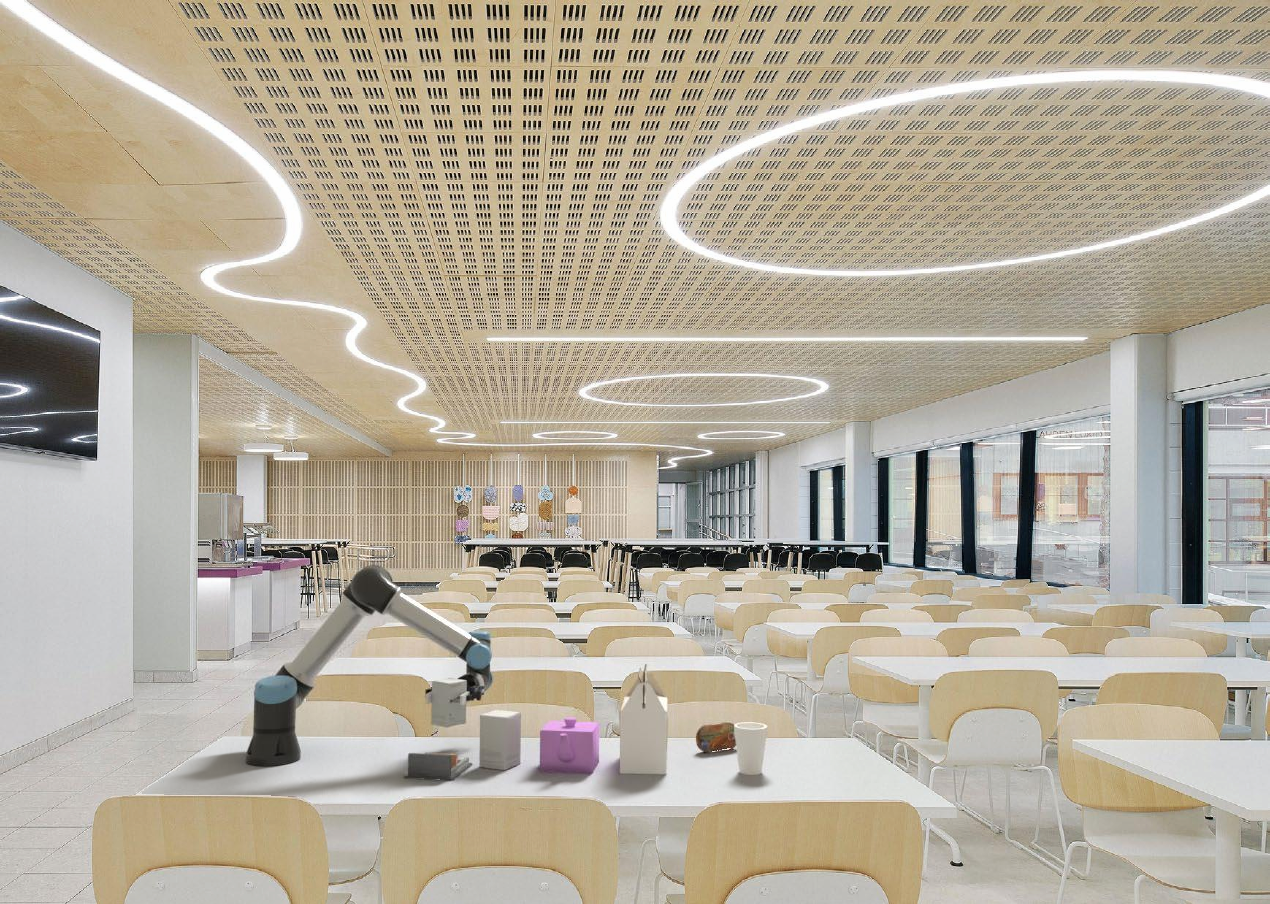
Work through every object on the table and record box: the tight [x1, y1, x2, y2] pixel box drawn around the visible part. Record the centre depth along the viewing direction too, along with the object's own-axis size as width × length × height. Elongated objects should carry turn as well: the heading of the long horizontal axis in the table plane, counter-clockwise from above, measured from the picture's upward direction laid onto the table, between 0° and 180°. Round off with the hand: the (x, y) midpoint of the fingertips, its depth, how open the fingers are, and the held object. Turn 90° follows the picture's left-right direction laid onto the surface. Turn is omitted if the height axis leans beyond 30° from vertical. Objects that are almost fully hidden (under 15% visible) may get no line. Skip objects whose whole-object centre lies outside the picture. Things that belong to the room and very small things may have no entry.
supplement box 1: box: [430, 677, 467, 728], centre depth 284 cm, size 7×7×13 cm
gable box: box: [619, 663, 669, 776], centre depth 287 cm, size 22×13×28 cm, turn 178°
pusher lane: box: [403, 752, 473, 781], centre depth 276 cm, size 14×17×7 cm
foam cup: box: [734, 721, 768, 776], centre depth 279 cm, size 10×9×13 cm
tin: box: [695, 722, 736, 754], centre depth 304 cm, size 15×3×8 cm, turn 120°
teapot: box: [539, 716, 600, 775], centre depth 281 cm, size 15×25×14 cm, turn 174°
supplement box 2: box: [478, 709, 522, 771], centre depth 283 cm, size 9×9×15 cm
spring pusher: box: [424, 752, 459, 768], centre depth 277 cm, size 9×1×4 cm, turn 82°
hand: (444, 699), depth 280 cm, fingers closed on supplement box 1, 10 cm apart
